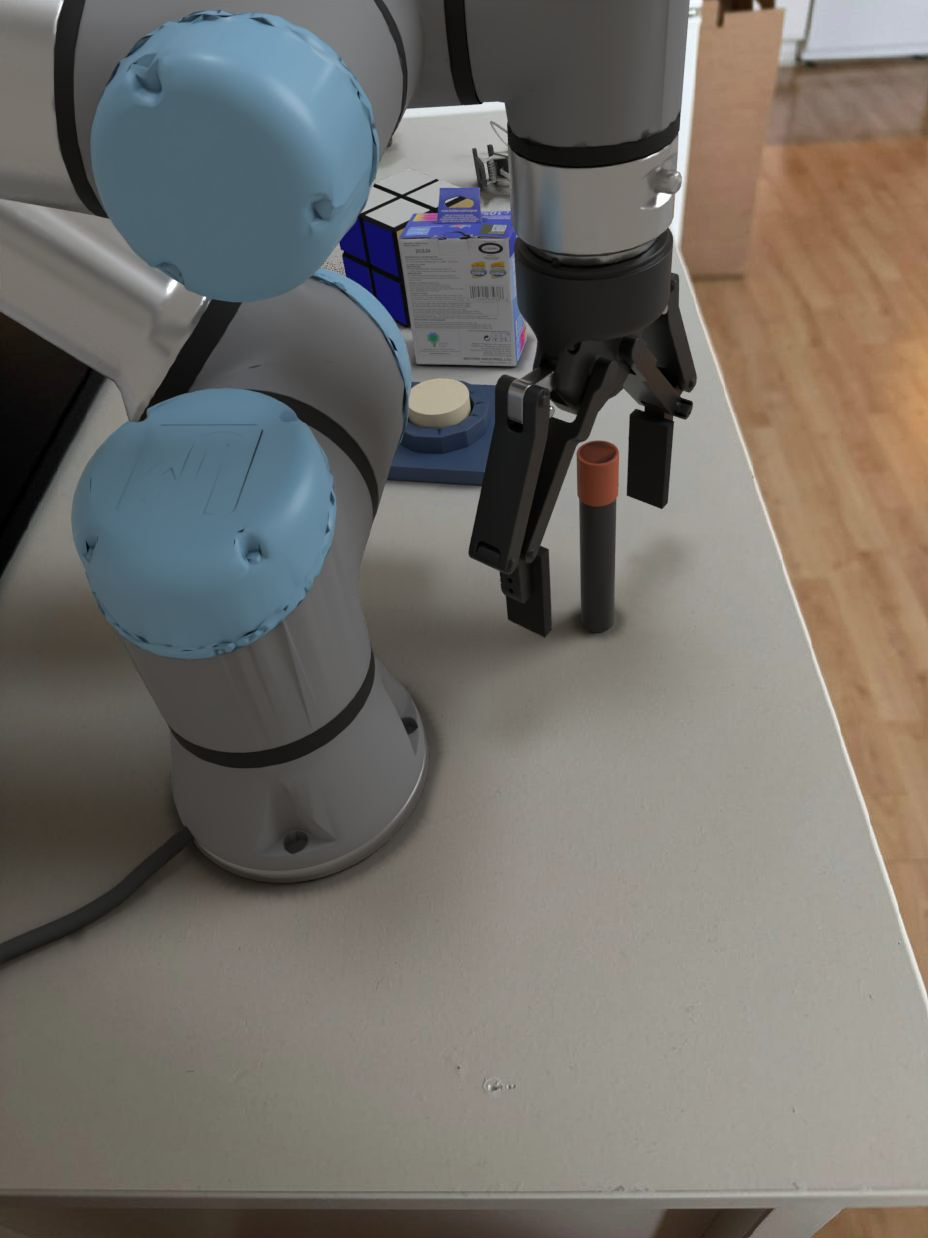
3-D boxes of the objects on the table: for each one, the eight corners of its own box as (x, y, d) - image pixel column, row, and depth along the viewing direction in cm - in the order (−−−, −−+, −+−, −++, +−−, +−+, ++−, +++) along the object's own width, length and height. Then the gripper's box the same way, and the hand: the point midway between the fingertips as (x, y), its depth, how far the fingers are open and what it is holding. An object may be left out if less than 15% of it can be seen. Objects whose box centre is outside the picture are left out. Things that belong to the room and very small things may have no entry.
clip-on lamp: (482, 174, 124) (476, 201, 109) (473, 121, 120) (466, 141, 106) (572, 156, 122) (578, 181, 107) (565, 101, 119) (571, 119, 104)
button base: (486, 485, 75) (482, 455, 73) (366, 478, 77) (359, 448, 75) (514, 398, 83) (512, 368, 81) (404, 394, 85) (399, 364, 83)
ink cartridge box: (529, 336, 90) (520, 180, 79) (520, 368, 86) (509, 209, 76) (428, 334, 92) (406, 182, 81) (415, 366, 88) (390, 211, 78)
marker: (603, 638, 63) (604, 470, 53) (572, 624, 64) (568, 457, 54) (622, 616, 64) (627, 447, 54) (591, 603, 65) (591, 435, 55)
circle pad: (462, 432, 76) (460, 415, 75) (400, 428, 77) (397, 412, 76) (476, 395, 79) (475, 379, 78) (417, 392, 81) (414, 376, 80)
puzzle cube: (348, 298, 99) (329, 201, 91) (422, 261, 103) (409, 165, 95) (409, 329, 93) (393, 229, 86) (484, 289, 97) (475, 190, 90)
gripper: (500, 381, 37) (526, 716, 52) (785, 145, 49) (738, 471, 65) (357, 332, 40) (421, 659, 56) (657, 124, 53) (641, 438, 68)
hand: (591, 559), depth 60 cm, fingers open, 13 cm apart
